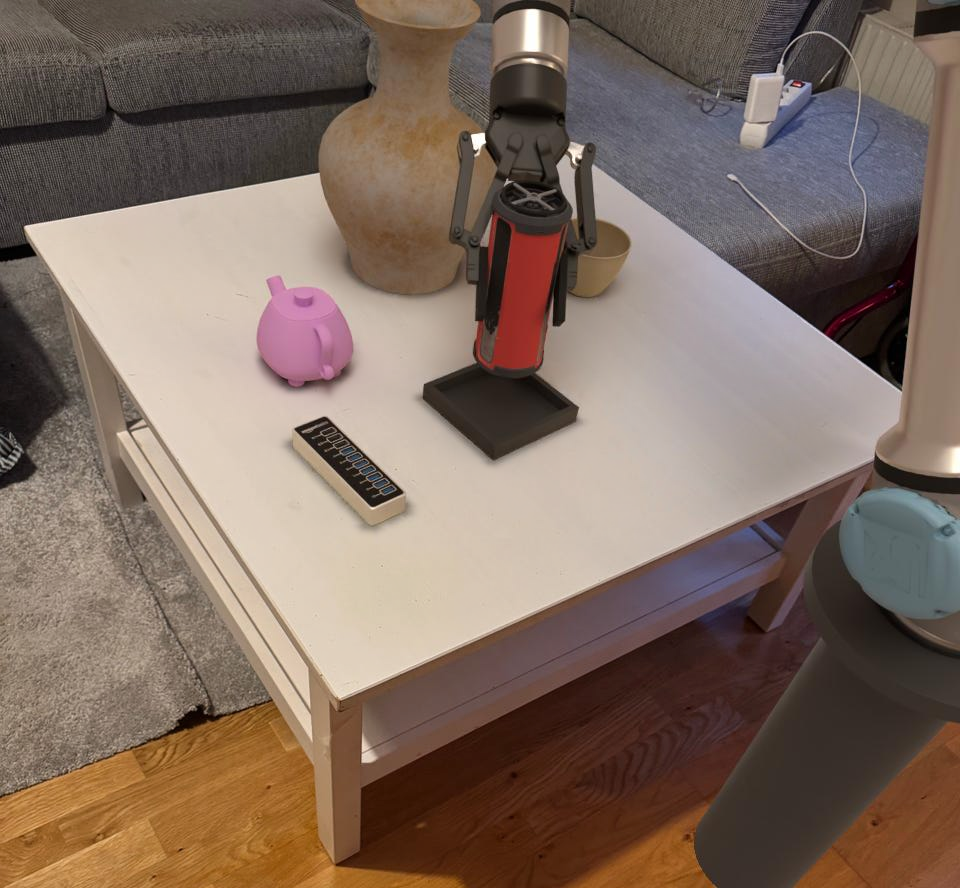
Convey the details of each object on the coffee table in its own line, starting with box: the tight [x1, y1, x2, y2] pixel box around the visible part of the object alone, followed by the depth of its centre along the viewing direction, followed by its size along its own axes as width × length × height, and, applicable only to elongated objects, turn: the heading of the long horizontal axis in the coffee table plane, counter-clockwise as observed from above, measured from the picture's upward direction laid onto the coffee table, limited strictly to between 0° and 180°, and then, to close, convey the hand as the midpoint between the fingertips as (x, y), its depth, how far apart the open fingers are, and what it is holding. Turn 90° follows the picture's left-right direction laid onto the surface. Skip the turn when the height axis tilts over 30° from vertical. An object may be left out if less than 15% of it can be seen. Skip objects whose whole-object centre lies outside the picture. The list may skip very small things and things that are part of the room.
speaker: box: [472, 180, 574, 379], centre depth 92 cm, size 8×8×18 cm
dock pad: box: [422, 362, 580, 461], centre depth 104 cm, size 13×13×2 cm
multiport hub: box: [291, 415, 407, 526], centre depth 94 cm, size 4×14×2 cm, turn 40°
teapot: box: [256, 274, 354, 387], centre depth 102 cm, size 10×15×9 cm
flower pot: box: [568, 216, 633, 298], centre depth 120 cm, size 10×10×7 cm
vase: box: [317, 0, 498, 296], centre depth 110 cm, size 22×22×30 cm
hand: (519, 320), depth 92 cm, fingers closed on speaker, 7 cm apart
